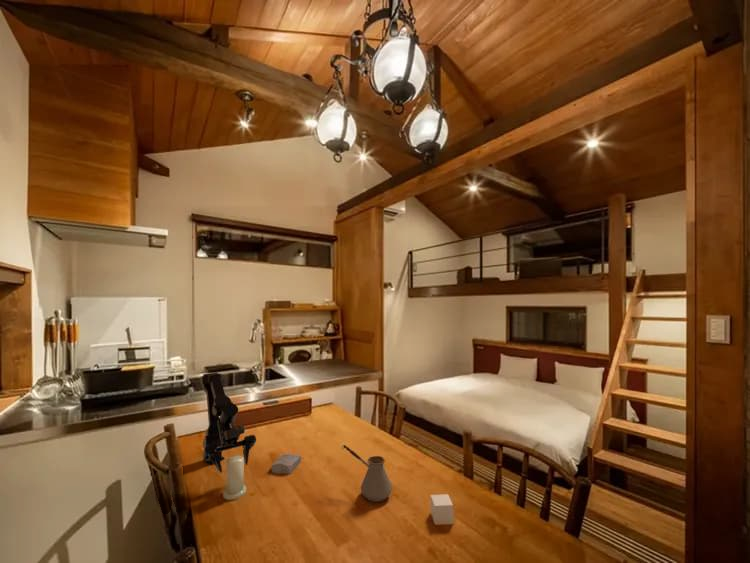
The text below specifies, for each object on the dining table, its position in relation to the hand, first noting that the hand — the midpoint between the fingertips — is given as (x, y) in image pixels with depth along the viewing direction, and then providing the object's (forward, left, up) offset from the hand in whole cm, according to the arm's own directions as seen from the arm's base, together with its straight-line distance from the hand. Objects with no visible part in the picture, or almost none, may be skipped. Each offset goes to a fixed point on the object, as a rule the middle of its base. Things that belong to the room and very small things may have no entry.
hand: (234, 468), depth 128 cm
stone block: (+2, +24, -9) cm, 26 cm away
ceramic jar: (+1, 0, -9) cm, 9 cm away
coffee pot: (+42, +26, -9) cm, 50 cm away
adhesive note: (+72, +26, -9) cm, 77 cm away
